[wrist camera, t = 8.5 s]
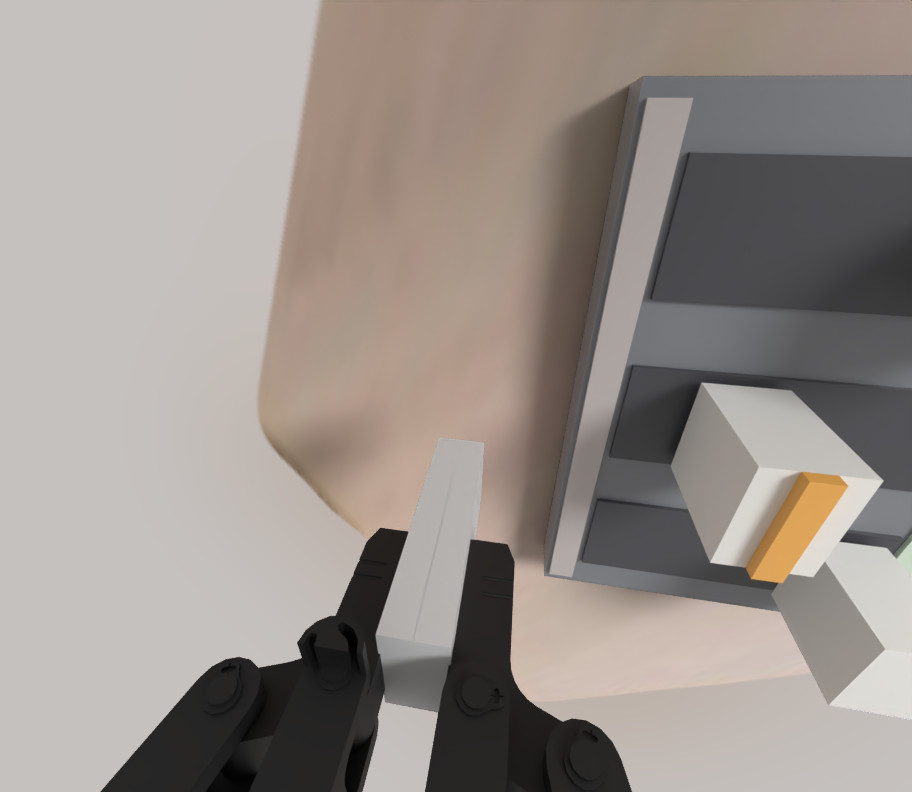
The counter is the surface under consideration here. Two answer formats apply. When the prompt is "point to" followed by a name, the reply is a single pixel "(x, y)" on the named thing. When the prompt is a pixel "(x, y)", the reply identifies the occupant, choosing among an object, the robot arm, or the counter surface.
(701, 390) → the breaker mid
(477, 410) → the counter surface
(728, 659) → the counter surface
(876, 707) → the block
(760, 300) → the panel
